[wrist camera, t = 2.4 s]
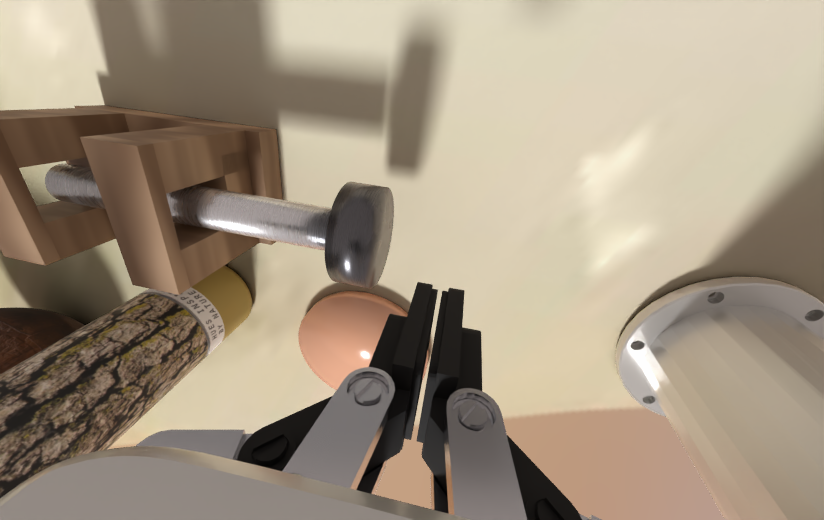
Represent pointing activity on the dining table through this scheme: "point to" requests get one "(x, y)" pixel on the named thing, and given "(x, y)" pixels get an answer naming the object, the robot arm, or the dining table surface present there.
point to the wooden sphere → (30, 333)
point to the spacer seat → (344, 333)
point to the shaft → (273, 219)
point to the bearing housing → (131, 187)
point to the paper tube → (110, 373)
